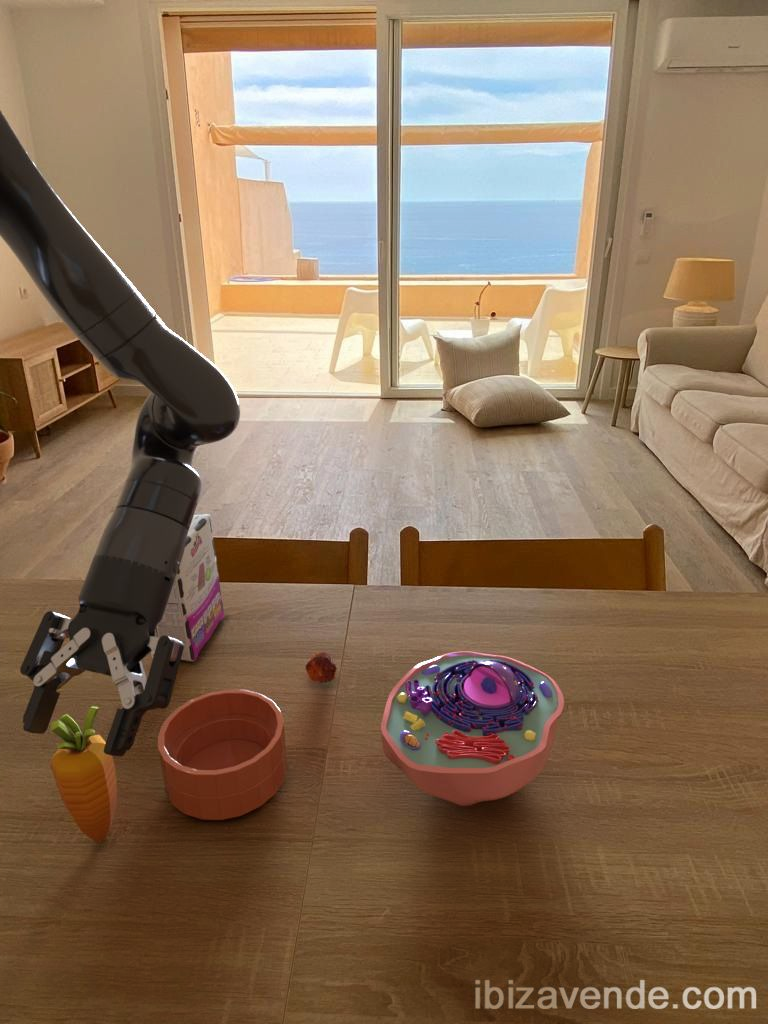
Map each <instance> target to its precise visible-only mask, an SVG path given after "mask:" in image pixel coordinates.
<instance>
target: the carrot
mask: <svg viewBox="0 0 768 1024" xmlns="http://www.w3.org/2000/svg"><path fill="white" fill-rule="evenodd" d="M99 711H100V707H98V706H90V708H89V710H88V712H87V714H86V717H85V720H84V726H83V730H82V731H81V729H80V726H79V725H78V723H77V722H76V721H75V720H74V719H73V718H72V717H71V716H70V715H69V714H68V713H65V714H62V715H61V716H60V718H59V719H60V720H59V719H56V720H54V721H52V722H51V724H50V729H51V731H52V733H54V734H55V735H56V736H58V737H59V738H60V739H62V740H63V741H60V742H58V743H57V746H56V748H57V750H56V751H55V753H54V754H53V756H52V758H51V759H50V768H51V772H52V775H53V778H54V782H55V785H56V788H57V790H58V793H59V795H60V798H61V800H62V802H63V805H64V806H65V808H66V810H67V812H68V813H69V814H70V816H71V818H72V819H73V821H74V822H75V824H76V825H77V827H78V828H79V830H80V831H81V832H82V833H83V834H84V835H85V836H86V837H87V838H89V839H90V840H93V841H94V842H97V843H98V842H100V843H101V842H103V841H104V840H106V839H107V838H108V835H109V833H110V829H111V828H112V825H113V824H114V819H115V815H116V812H117V801H118V781H117V775H116V768H115V761H114V756H112V755H108V754H105V753H104V747H105V744H106V741H105V739H104V738H103V737H102V736H101V735H100V734H96V730H95V729H92V728H93V726H94V722H95V719H96V717H97V714H98V712H99Z"/></svg>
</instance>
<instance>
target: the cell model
mask: <svg viewBox="0 0 768 1024" xmlns="http://www.w3.org/2000/svg"><path fill="white" fill-rule="evenodd" d="M564 707H565V697H564V694H563V691H562V689H561V688H560V687H559V685H558V683H557V682H556V681H555V680H554V679H553V678H552V677H551V676H549V675H548V674H547V673H545V672H543V671H541V670H539V669H537V668H535V667H533V666H532V665H529V664H527V663H525V662H523V661H520V660H518V659H515V658H512V657H510V656H506V655H499V654H489V653H482V652H476V651H471V650H470V651H469V650H468V651H467V650H461V651H453V652H448V653H445V654H441V655H439V656H437V657H434V658H432V659H429V660H426V661H423V662H420V663H418V664H416V665H415V666H413V668H411V669H410V670H409V671H408V672H407V673H406V674H405V675H403V677H401V679H399V681H398V682H397V683H396V684H395V685H394V687H393V688H392V690H391V691H390V693H389V695H388V697H387V700H386V704H385V707H384V711H383V716H382V719H381V724H380V736H381V743H382V750H383V753H384V754H385V757H386V758H387V759H388V760H389V761H390V762H391V763H392V764H394V765H395V767H397V768H398V769H399V770H400V771H401V772H403V773H404V775H406V777H407V778H408V779H409V781H410V782H411V783H412V784H413V785H414V786H415V787H416V788H417V789H418V790H419V791H420V792H422V793H424V794H426V795H429V796H432V797H436V798H438V799H441V800H444V801H446V802H449V803H452V804H454V805H457V806H461V807H469V806H473V805H476V804H479V803H482V802H488V801H497V800H500V799H503V798H505V797H508V796H511V795H513V794H514V793H516V792H518V791H519V790H521V789H523V788H524V787H526V786H527V785H528V784H530V783H531V782H533V781H535V780H536V779H537V778H538V777H539V776H540V775H541V773H542V772H543V771H544V769H545V767H546V765H547V763H548V759H549V756H550V752H551V750H552V746H553V743H554V740H555V735H556V731H557V728H558V725H559V721H560V719H561V717H562V716H561V715H562V713H563V710H564Z"/></svg>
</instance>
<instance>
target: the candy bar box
mask: <svg viewBox="0 0 768 1024" xmlns="http://www.w3.org/2000/svg"><path fill="white" fill-rule="evenodd" d="M212 527H213V526H212V520H211V514H208V513H207V514H206V513H194V516H193V519H192V522H191V525H190V528H189V531H188V534H187V538H186V544H185V549H184V554H183V557H182V560H181V563H180V566H179V570H178V572H177V575H176V578H175V582H174V585H173V588H172V590H171V593H170V596H169V599H168V602H167V605H166V608H165V611H164V614H163V617H162V620H161V621H160V622H159V623H158V624H157V626H156V629H155V634H156V637H162V636H168V637H172V638H175V639H177V640H178V641H181V642H182V643H183V644H184V649H183V653H182V657H181V661H182V662H190V663H191V662H192V663H194V662H195V661H196V660H197V658H198V657H199V655H200V654H201V653H202V651H203V650H204V648H205V646H206V645H207V643H208V642H209V641H210V638H211V637H212V636H213V634H214V633H215V631H216V629H217V628H218V626H219V625H220V624H221V622H222V621H223V620H224V618H225V612H224V603H223V596H222V590H221V584H220V576H219V570H218V561H217V555H216V554H217V553H216V547H215V542H214V541H215V540H214V533H213V528H212ZM181 661H180V662H181Z"/></svg>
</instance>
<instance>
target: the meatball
mask: <svg viewBox="0 0 768 1024" xmlns="http://www.w3.org/2000/svg"><path fill="white" fill-rule="evenodd" d="M337 670H338V668H337V666H336V663H335V662H334V661H333V660H332V657H331V656H330V654H329V653H327V652H326V651H319V652H316V653H315V654H313V656H311V658H310V660H309V661H307V663H306V665H305V671H306V674H307V676H308V678H309V679H310V681H311V682H313V683H317V682H319V683H331V682H332V681H333V680H334V679H335V675H336V673H337Z"/></svg>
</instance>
